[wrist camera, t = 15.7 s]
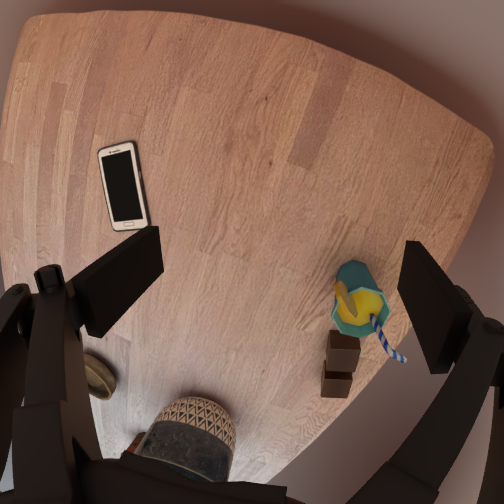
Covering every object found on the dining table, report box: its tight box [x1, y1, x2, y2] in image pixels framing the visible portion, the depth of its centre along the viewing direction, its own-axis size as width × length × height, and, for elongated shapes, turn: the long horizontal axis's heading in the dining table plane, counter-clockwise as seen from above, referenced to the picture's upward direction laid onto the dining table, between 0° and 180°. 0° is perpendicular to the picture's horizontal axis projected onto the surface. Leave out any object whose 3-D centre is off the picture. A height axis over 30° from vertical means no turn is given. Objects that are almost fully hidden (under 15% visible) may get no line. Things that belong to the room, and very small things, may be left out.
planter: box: [134, 397, 236, 482], centre depth 55 cm, size 20×20×21 cm
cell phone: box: [98, 141, 150, 232], centre depth 47 cm, size 8×15×1 cm, turn 7°
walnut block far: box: [321, 360, 353, 398], centre depth 51 cm, size 5×5×5 cm
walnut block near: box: [326, 330, 361, 372], centre depth 49 cm, size 5×5×5 cm
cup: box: [331, 260, 407, 363], centre depth 39 cm, size 14×8×15 cm, turn 54°
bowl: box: [84, 353, 116, 400], centre depth 64 cm, size 14×18×10 cm
